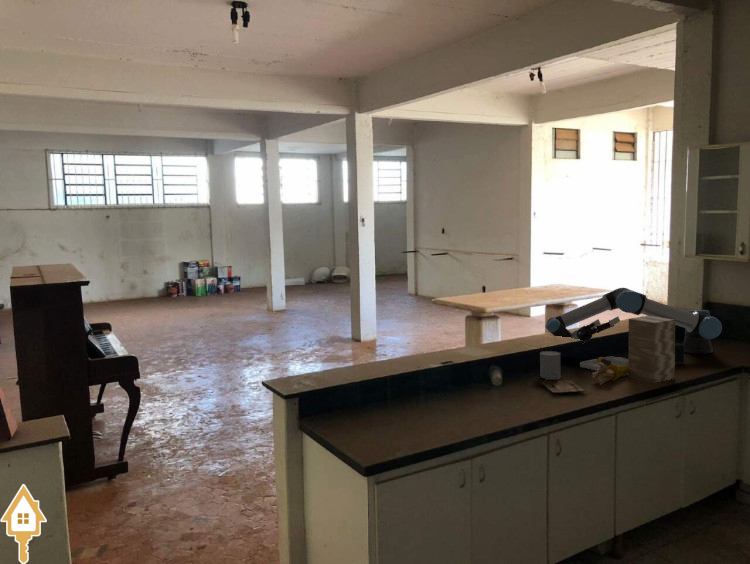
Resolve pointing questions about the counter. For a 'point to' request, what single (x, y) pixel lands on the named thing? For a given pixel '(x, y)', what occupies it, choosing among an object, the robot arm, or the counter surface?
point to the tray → (595, 364)
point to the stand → (652, 349)
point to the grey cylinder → (550, 365)
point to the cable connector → (614, 361)
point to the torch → (609, 372)
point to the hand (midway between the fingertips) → (609, 320)
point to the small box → (679, 354)
